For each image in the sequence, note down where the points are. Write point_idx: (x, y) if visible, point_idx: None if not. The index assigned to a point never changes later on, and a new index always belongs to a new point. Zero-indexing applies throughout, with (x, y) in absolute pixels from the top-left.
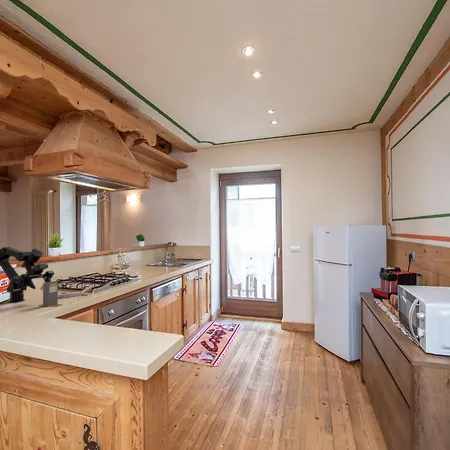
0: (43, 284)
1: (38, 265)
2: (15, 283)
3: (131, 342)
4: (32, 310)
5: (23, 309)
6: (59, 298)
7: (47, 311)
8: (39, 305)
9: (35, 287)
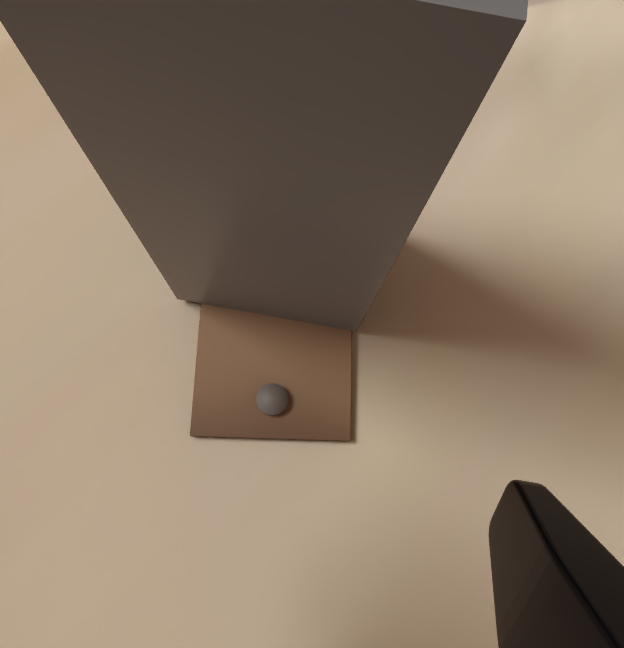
0: (496, 66)
1: None
2: None
3: None
4: (601, 261)
5: (602, 466)
6: None
7: (577, 25)
8: (348, 412)
9: (530, 494)
